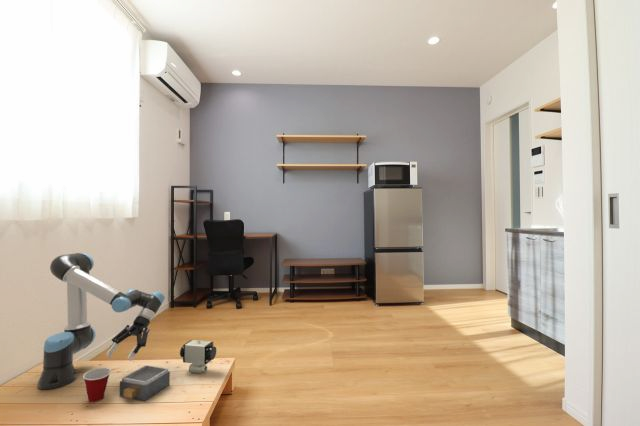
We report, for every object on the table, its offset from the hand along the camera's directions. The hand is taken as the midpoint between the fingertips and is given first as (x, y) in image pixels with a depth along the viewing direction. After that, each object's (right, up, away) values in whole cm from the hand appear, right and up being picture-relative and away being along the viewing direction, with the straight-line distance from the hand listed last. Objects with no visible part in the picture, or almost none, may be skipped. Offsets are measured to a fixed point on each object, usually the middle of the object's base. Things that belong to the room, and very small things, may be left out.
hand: (118, 357), depth 154 cm
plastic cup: (-3, -14, -11) cm, 18 cm away
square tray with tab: (+15, -14, -5) cm, 22 cm away
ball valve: (+34, -16, +16) cm, 41 cm away
